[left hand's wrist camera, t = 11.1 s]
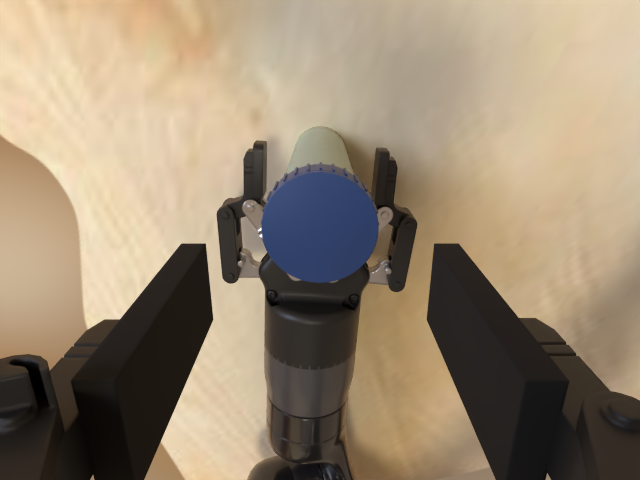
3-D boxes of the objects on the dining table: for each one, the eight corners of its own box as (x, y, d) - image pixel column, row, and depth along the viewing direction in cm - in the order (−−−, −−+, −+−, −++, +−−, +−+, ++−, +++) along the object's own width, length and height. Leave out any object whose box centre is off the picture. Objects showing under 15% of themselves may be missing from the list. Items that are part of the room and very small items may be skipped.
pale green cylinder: (289, 169, 38) (260, 257, 20) (302, 120, 36) (285, 166, 18) (336, 183, 38) (351, 281, 20) (351, 134, 37) (382, 194, 19)
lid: (252, 252, 21) (247, 267, 19) (279, 147, 19) (276, 154, 18) (355, 279, 22) (358, 297, 20) (390, 180, 20) (397, 190, 18)
